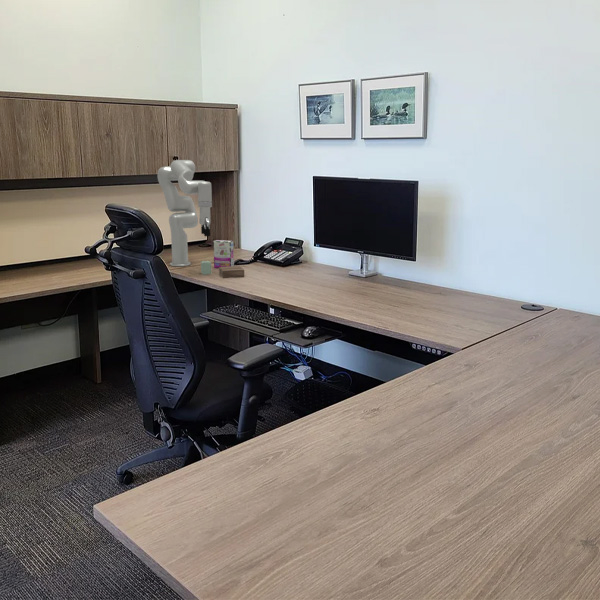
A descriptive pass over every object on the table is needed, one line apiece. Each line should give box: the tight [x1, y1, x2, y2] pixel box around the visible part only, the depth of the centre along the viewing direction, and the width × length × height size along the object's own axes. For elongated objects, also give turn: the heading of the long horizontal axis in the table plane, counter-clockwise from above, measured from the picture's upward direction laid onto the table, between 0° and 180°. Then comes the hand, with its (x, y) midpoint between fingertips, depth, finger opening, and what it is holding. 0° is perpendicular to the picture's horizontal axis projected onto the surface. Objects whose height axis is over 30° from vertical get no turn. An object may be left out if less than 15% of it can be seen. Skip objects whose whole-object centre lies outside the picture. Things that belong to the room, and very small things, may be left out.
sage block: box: [200, 260, 212, 276], centre depth 355 cm, size 5×5×7 cm
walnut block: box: [218, 265, 245, 279], centre depth 352 cm, size 12×12×4 cm
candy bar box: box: [213, 239, 235, 269], centre depth 371 cm, size 11×5×16 cm, turn 73°
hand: (205, 234), depth 350 cm, fingers open, 9 cm apart
